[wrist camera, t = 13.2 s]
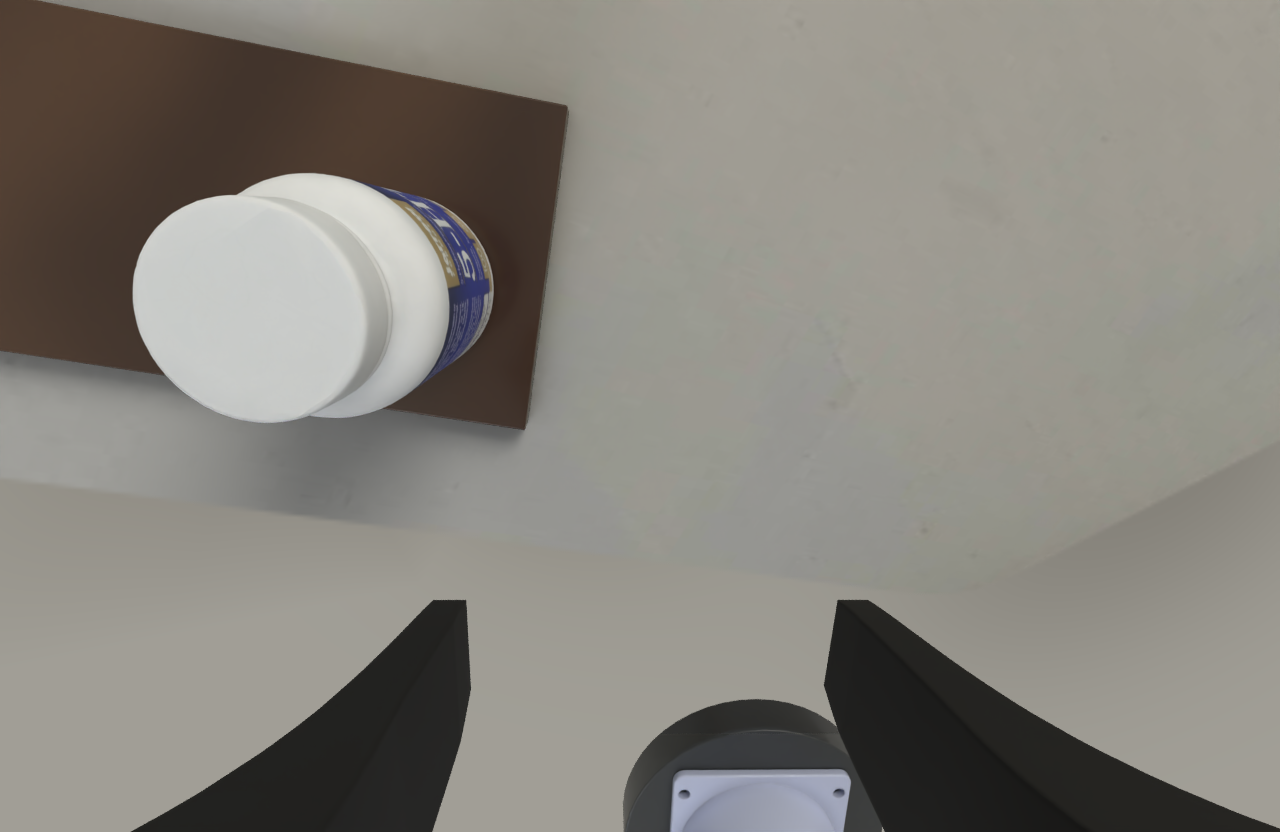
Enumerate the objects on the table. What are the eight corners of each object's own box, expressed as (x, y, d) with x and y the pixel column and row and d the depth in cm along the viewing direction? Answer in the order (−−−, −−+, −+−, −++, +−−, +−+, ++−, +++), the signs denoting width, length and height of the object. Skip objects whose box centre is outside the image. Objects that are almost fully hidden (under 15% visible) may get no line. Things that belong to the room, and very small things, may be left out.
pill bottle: (526, 254, 19) (460, 265, 11) (448, 397, 20) (332, 509, 12) (365, 157, 18) (154, 86, 10) (293, 312, 20) (46, 368, 11)
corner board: (569, 110, 19) (567, 105, 18) (527, 423, 22) (524, 430, 21) (-155, -33, 17) (-191, -46, 17) (-108, 327, 20) (-137, 330, 19)
